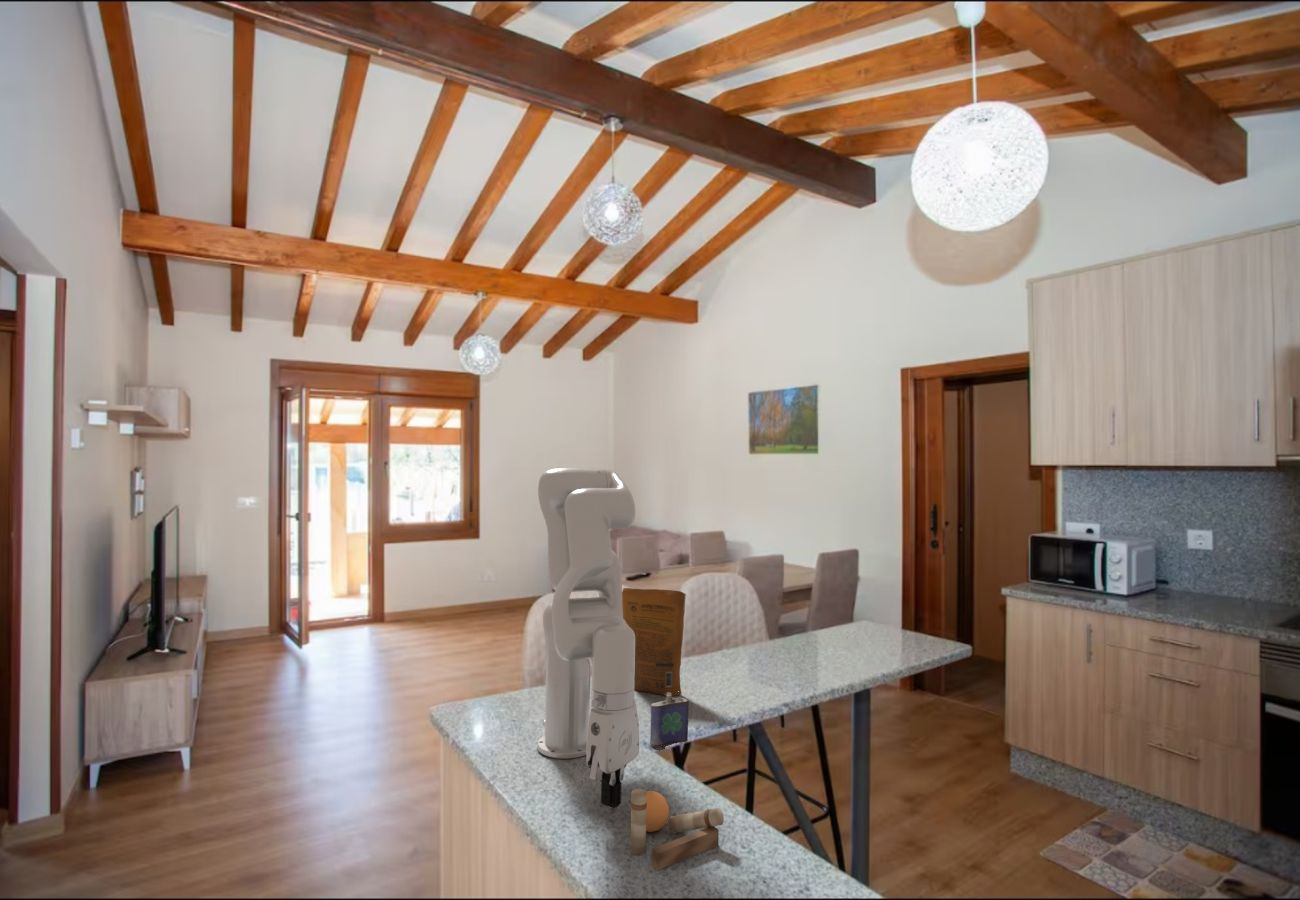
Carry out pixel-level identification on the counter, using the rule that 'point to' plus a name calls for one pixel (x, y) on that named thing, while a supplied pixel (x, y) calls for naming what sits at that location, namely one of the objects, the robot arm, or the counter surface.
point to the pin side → (638, 821)
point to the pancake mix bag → (656, 637)
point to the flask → (669, 721)
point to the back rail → (684, 847)
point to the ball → (656, 811)
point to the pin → (696, 820)
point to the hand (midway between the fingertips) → (610, 804)
